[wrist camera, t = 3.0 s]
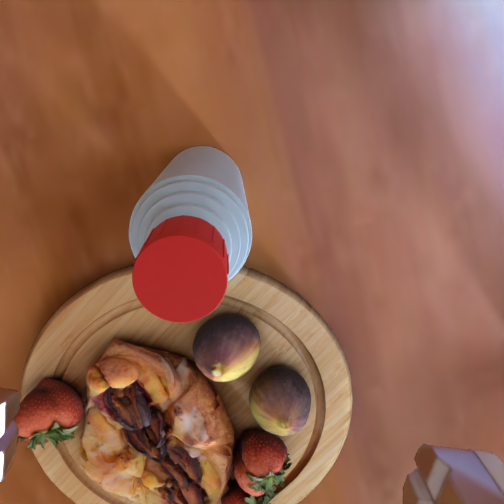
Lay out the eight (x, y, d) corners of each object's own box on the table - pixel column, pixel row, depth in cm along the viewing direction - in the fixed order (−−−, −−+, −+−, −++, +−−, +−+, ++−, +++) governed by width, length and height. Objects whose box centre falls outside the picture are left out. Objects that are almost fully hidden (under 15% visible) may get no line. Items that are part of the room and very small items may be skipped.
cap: (220, 298, 23) (220, 329, 20) (140, 287, 23) (126, 317, 20) (234, 221, 22) (235, 242, 19) (148, 208, 22) (136, 227, 19)
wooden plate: (-16, 464, 48) (-64, 537, 40) (100, 192, 39) (69, 216, 32) (257, 556, 54) (263, 634, 46) (408, 338, 46) (445, 387, 38)
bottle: (235, 229, 41) (245, 354, 21) (158, 217, 40) (94, 335, 21) (248, 153, 39) (273, 213, 19) (168, 139, 38) (107, 185, 18)
